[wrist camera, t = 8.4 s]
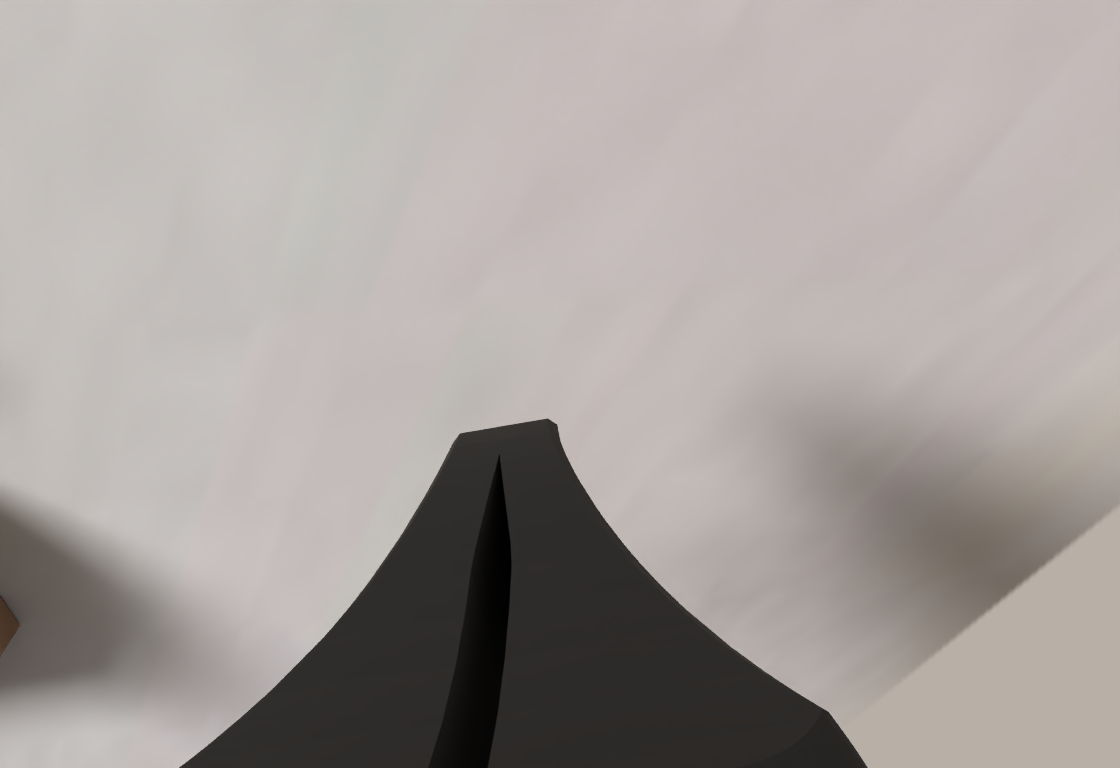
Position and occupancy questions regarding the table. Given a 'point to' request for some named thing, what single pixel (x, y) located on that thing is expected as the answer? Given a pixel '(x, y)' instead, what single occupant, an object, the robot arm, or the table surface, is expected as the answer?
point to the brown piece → (6, 625)
